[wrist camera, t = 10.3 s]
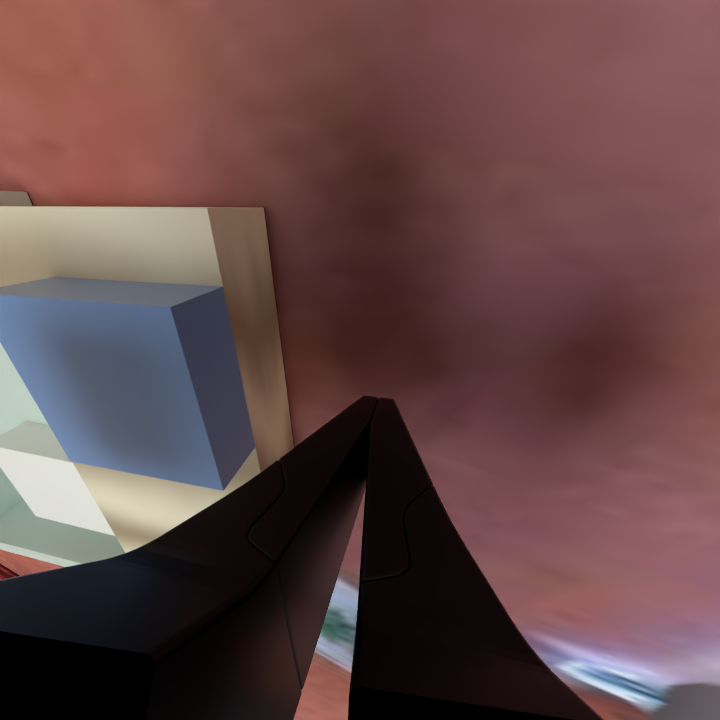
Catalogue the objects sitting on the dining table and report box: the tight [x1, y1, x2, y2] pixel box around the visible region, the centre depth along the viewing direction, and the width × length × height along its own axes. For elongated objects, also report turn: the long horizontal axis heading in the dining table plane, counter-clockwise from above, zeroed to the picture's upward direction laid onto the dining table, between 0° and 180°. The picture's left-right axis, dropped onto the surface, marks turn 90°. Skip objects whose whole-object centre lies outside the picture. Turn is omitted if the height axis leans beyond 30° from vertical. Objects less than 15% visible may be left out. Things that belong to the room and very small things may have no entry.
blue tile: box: [0, 277, 255, 491], centre depth 10 cm, size 6×6×2 cm
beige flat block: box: [0, 206, 294, 553], centre depth 14 cm, size 20×10×3 cm, turn 0°
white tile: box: [0, 421, 115, 536], centre depth 18 cm, size 6×6×2 cm
